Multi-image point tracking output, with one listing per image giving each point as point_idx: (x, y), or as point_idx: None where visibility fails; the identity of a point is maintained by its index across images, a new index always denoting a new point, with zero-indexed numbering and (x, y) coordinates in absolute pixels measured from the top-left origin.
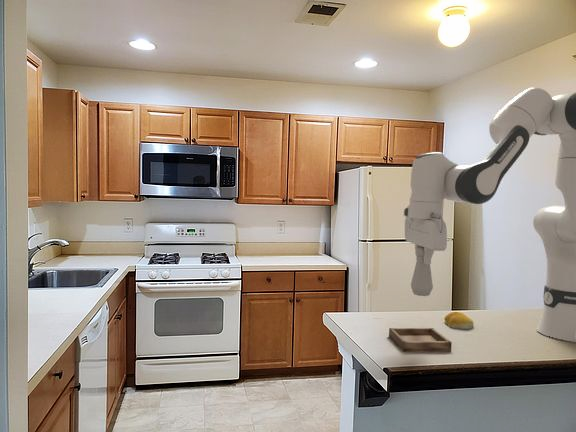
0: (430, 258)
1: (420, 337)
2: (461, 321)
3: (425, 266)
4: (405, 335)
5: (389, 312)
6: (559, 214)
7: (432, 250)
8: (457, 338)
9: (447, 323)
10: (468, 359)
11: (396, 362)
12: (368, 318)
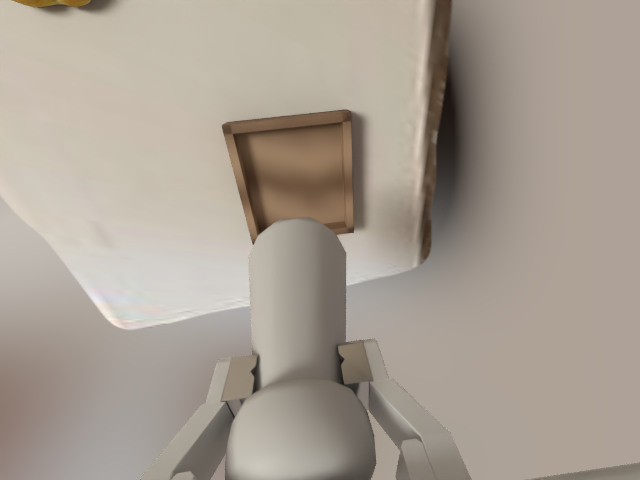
0: (386, 377)
1: (271, 170)
2: None
3: (344, 337)
4: (262, 204)
5: (8, 193)
6: None
7: (457, 460)
8: (229, 35)
9: (57, 3)
10: (403, 82)
11: (402, 246)
12: (118, 257)
